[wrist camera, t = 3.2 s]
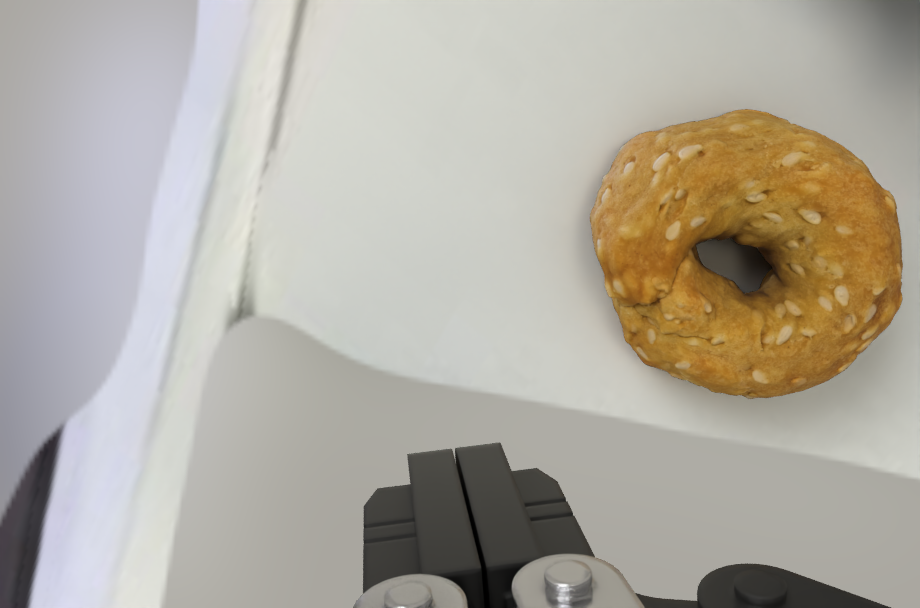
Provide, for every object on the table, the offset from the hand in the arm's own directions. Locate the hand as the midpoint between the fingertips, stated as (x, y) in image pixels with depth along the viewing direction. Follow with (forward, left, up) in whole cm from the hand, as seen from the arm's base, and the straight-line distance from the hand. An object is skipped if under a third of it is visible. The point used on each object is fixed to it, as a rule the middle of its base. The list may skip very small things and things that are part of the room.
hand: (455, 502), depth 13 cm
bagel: (-12, 0, -17) cm, 21 cm away
